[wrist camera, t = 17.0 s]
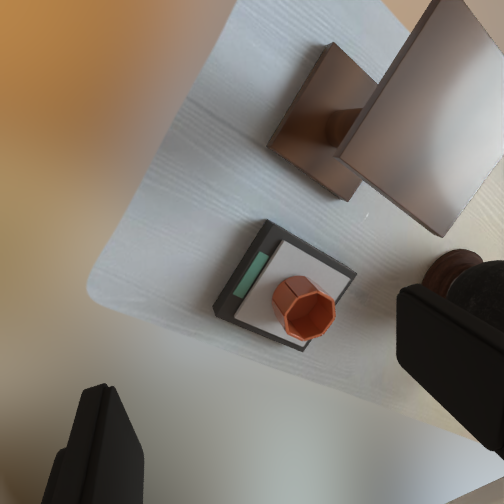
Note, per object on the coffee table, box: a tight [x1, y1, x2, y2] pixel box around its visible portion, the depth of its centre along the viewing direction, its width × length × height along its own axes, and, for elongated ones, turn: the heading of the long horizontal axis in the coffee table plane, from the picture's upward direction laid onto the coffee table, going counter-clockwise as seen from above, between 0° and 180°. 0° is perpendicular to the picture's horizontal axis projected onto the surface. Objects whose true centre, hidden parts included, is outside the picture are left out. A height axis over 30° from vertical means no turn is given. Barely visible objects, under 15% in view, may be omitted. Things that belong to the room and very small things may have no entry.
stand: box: [267, 0, 504, 238], centre depth 30 cm, size 12×12×16 cm
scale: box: [213, 219, 357, 352], centre depth 42 cm, size 14×13×3 cm
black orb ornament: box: [422, 249, 504, 333], centre depth 44 cm, size 13×13×15 cm
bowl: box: [272, 276, 336, 341], centre depth 38 cm, size 6×6×4 cm
